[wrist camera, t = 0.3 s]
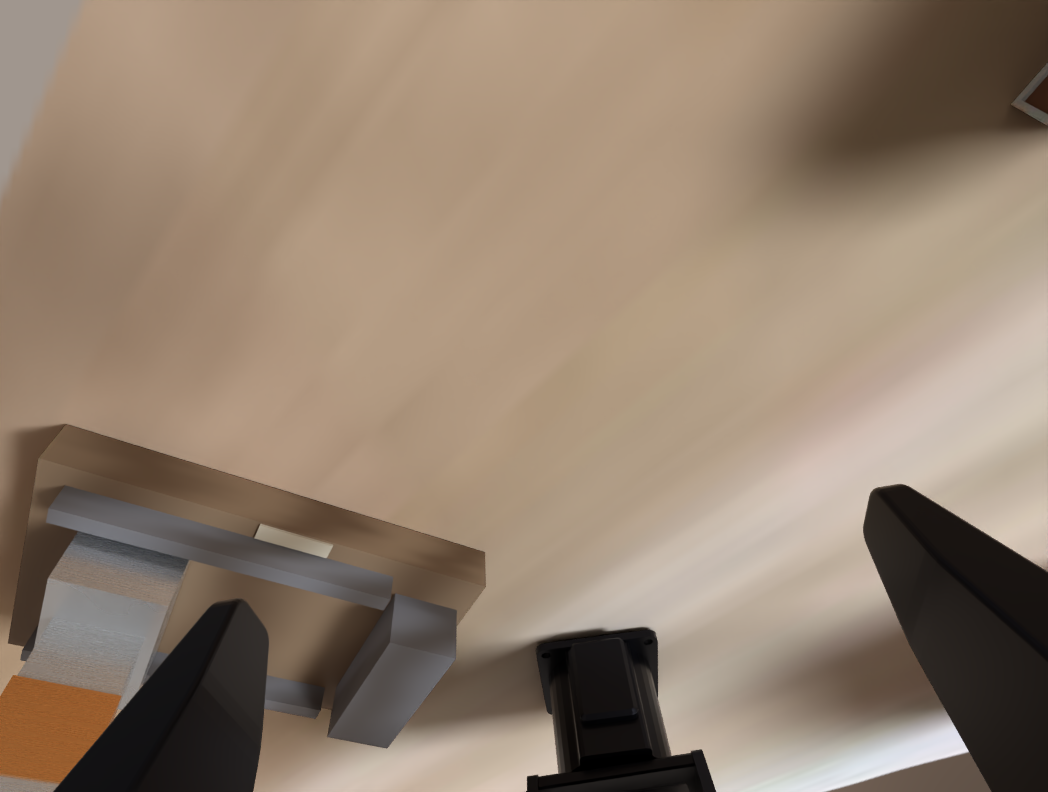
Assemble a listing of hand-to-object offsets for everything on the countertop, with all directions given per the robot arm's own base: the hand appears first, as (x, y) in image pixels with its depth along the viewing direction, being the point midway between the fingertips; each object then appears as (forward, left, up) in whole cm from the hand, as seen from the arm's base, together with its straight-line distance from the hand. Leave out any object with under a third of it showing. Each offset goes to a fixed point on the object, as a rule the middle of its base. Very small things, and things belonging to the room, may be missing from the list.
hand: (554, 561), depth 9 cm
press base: (-16, +14, -15) cm, 26 cm away
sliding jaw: (-13, +18, -13) cm, 26 cm away
